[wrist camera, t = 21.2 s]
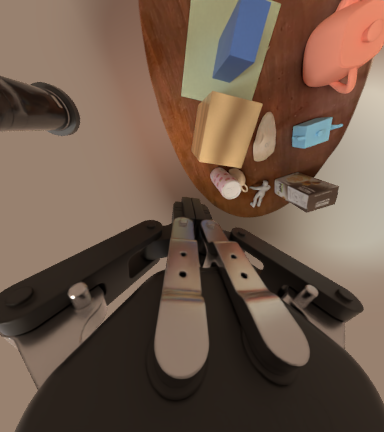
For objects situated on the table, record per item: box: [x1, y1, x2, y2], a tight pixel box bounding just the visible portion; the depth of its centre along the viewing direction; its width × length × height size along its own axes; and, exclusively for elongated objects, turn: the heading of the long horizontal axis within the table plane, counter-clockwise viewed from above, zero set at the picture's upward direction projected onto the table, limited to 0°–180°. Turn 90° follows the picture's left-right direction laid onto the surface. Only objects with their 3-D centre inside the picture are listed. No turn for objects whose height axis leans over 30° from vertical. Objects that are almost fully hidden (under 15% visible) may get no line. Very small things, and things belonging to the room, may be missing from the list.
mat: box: [181, 0, 281, 101], centre depth 35 cm, size 20×20×1 cm
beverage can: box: [210, 167, 241, 199], centre depth 45 cm, size 6×6×15 cm
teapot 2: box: [303, 0, 384, 94], centre depth 32 cm, size 13×20×12 cm, turn 18°
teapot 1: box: [292, 117, 343, 148], centre depth 44 cm, size 12×6×8 cm, turn 108°
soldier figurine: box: [250, 181, 271, 207], centre depth 54 cm, size 6×5×12 cm
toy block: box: [212, 0, 271, 83], centre depth 30 cm, size 5×7×14 cm
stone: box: [253, 112, 276, 161], centre depth 46 cm, size 8×14×2 cm, turn 8°
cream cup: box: [228, 168, 248, 192], centre depth 50 cm, size 4×8×5 cm, turn 24°
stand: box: [191, 91, 263, 168], centre depth 36 cm, size 10×12×18 cm
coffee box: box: [275, 172, 339, 212], centre depth 49 cm, size 9×6×16 cm
